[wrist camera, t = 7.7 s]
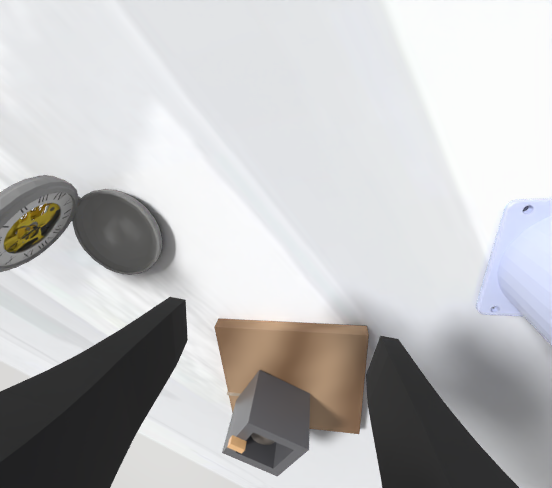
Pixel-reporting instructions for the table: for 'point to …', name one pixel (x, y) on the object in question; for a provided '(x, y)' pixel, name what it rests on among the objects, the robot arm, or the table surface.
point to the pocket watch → (77, 225)
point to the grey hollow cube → (269, 424)
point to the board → (300, 365)
